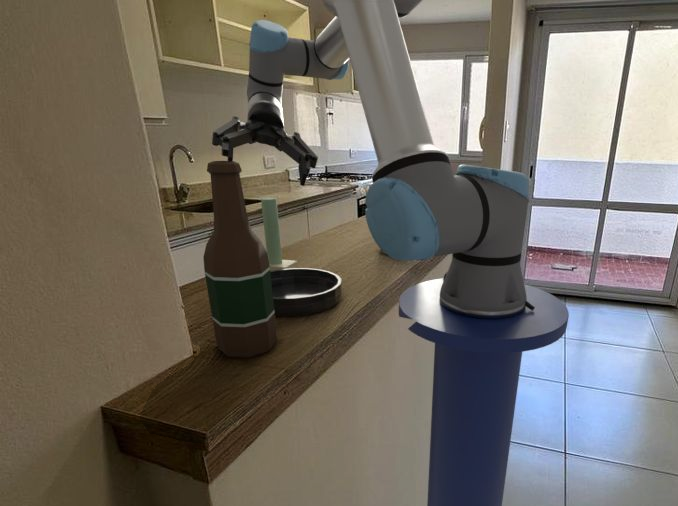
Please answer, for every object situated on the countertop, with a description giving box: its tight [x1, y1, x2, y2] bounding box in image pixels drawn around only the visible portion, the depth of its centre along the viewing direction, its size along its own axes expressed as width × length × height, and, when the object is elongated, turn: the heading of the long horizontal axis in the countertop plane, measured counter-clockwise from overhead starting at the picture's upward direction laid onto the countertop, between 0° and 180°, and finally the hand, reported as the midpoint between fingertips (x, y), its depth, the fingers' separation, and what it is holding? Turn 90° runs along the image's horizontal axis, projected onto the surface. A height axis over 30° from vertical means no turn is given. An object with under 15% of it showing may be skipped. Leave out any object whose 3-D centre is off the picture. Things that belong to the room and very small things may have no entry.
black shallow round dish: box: [270, 267, 343, 318], centre depth 77 cm, size 16×16×3 cm
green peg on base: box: [260, 197, 299, 271], centre depth 88 cm, size 7×5×15 cm
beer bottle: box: [203, 160, 278, 358], centre depth 57 cm, size 8×8×24 cm
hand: (268, 172), depth 86 cm, fingers open, 13 cm apart
